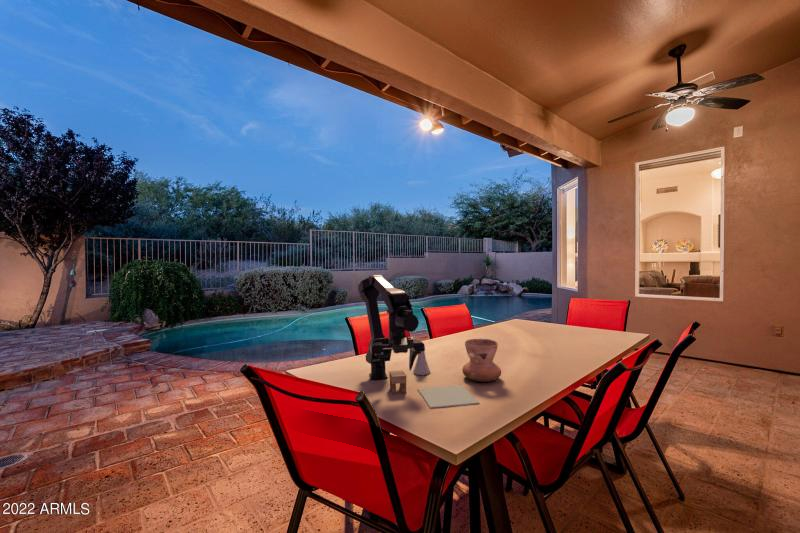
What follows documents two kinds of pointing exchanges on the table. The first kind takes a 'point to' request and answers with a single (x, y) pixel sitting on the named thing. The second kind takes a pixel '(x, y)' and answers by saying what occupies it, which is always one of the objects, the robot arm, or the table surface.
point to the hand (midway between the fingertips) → (397, 371)
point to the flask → (421, 365)
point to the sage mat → (447, 396)
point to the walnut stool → (397, 380)
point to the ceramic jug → (481, 360)
